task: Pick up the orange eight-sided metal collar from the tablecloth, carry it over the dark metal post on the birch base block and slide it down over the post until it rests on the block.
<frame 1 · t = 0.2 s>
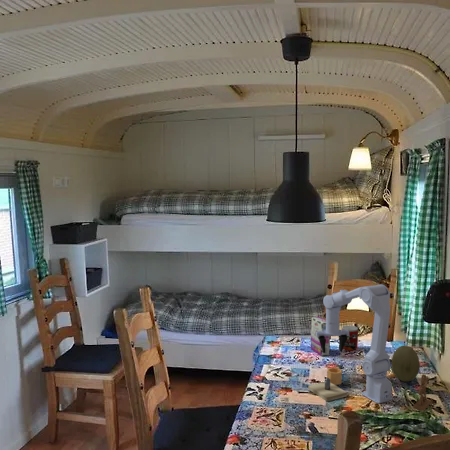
hand: (332, 352, 211), 10 cm above the table, tool pointing down, fingers open, 7 cm apart
collar: (334, 381, 203), on the table
brown figurine: (422, 405, 182), on the table
canned food: (349, 349, 242), on the table
base block: (327, 392, 193), on the table
fruit: (404, 380, 204), on the table
post: (327, 383, 193), on the base block, point 4 cm above the table
candy bar box: (320, 352, 238), on the table
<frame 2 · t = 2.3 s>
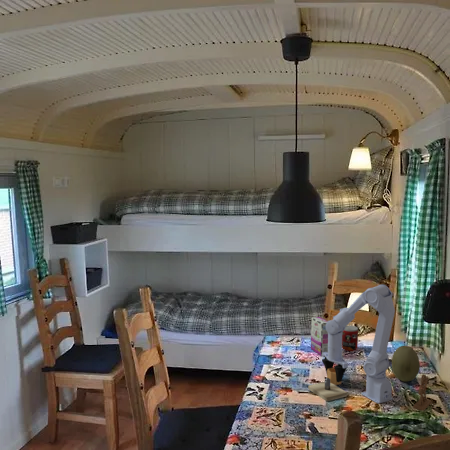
hand: (334, 378, 203), 1 cm above the table, tool pointing down, fingers closed on collar, 6 cm apart
collar: (334, 381, 203), on the table, touching gripper
everything else where it was.
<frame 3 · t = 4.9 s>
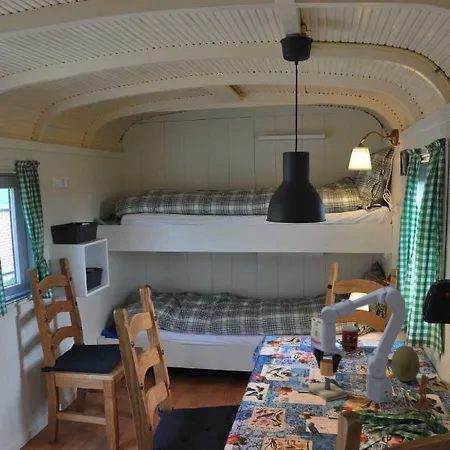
hand: (327, 370, 192), 9 cm above the table, tool pointing down, fingers closed on collar, 6 cm apart
collar: (327, 373, 192), point 8 cm above the table, touching gripper
everything else where it was.
when the fingers open (3 cm above the table, at t = 7.7 s): collar stays where it is, resting on base block.
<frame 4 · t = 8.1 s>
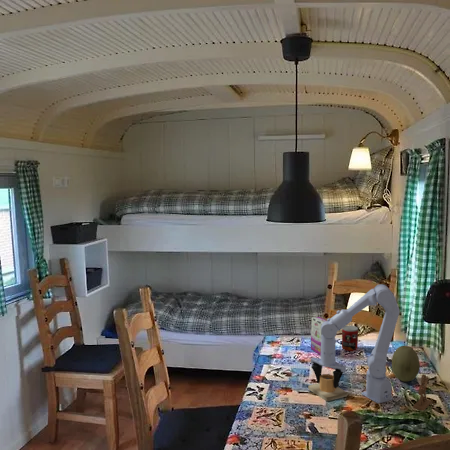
hand: (327, 384, 193), 3 cm above the table, tool pointing down, fingers open, 7 cm apart
collar: (327, 389, 193), point 1 cm above the table, touching base block
everything else where it was.
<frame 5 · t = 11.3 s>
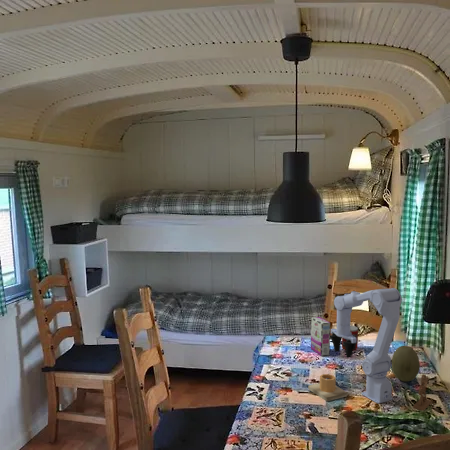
hand: (342, 354, 206), 10 cm above the table, tool pointing down, fingers open, 7 cm apart
nothing on the table moved.
at the end: collar 0.0 cm off-centre on the post, point 1.5 cm above the post's base; collar tilted 0°; the gripper is holding nothing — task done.
